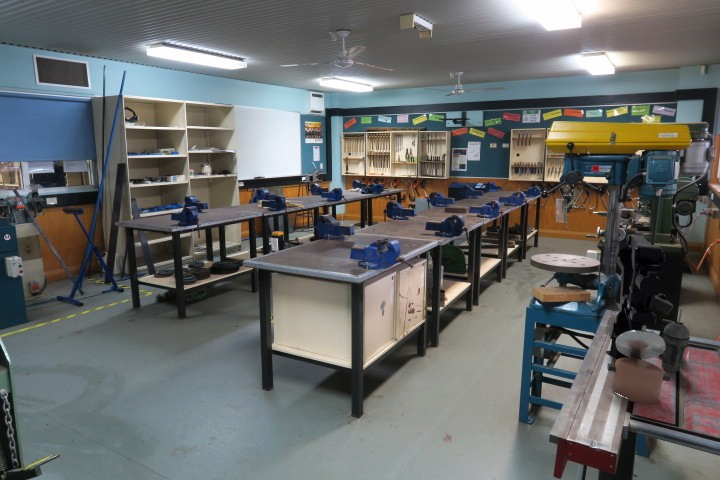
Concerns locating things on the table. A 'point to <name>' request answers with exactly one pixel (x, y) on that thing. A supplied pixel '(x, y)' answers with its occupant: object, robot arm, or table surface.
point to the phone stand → (664, 324)
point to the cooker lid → (640, 344)
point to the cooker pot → (637, 380)
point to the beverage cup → (674, 344)
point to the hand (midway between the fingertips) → (633, 334)
